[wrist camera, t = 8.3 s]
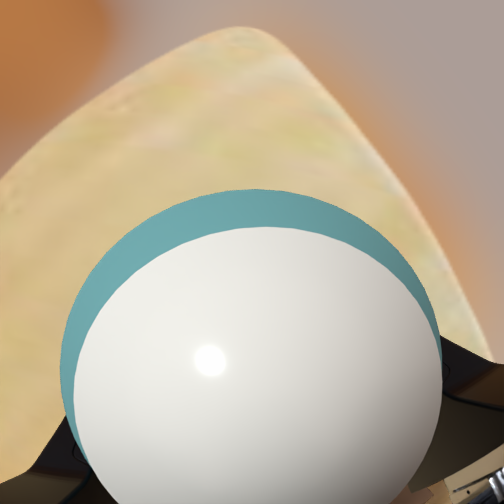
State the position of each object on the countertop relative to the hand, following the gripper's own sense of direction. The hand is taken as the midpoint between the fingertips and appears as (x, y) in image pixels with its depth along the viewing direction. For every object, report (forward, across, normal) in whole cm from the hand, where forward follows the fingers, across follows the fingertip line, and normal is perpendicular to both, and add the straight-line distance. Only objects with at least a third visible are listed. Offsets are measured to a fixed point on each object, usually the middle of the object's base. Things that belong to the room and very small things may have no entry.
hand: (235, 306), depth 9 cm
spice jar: (+4, 0, +6) cm, 7 cm away
